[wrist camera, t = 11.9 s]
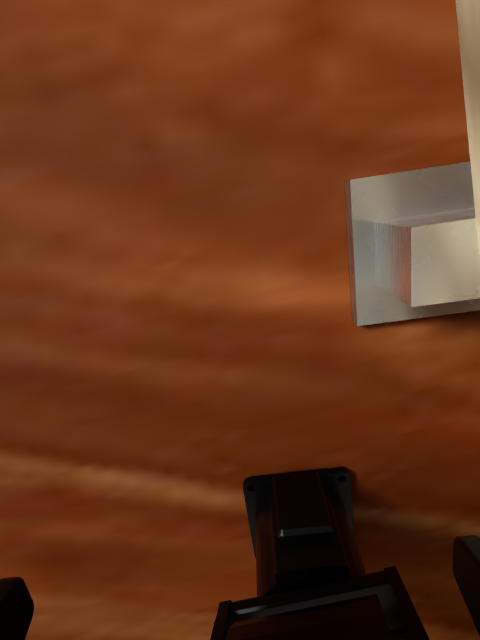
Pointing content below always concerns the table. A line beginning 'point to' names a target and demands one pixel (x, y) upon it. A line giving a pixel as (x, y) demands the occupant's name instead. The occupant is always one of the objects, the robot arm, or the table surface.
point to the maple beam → (471, 88)
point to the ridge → (412, 244)
